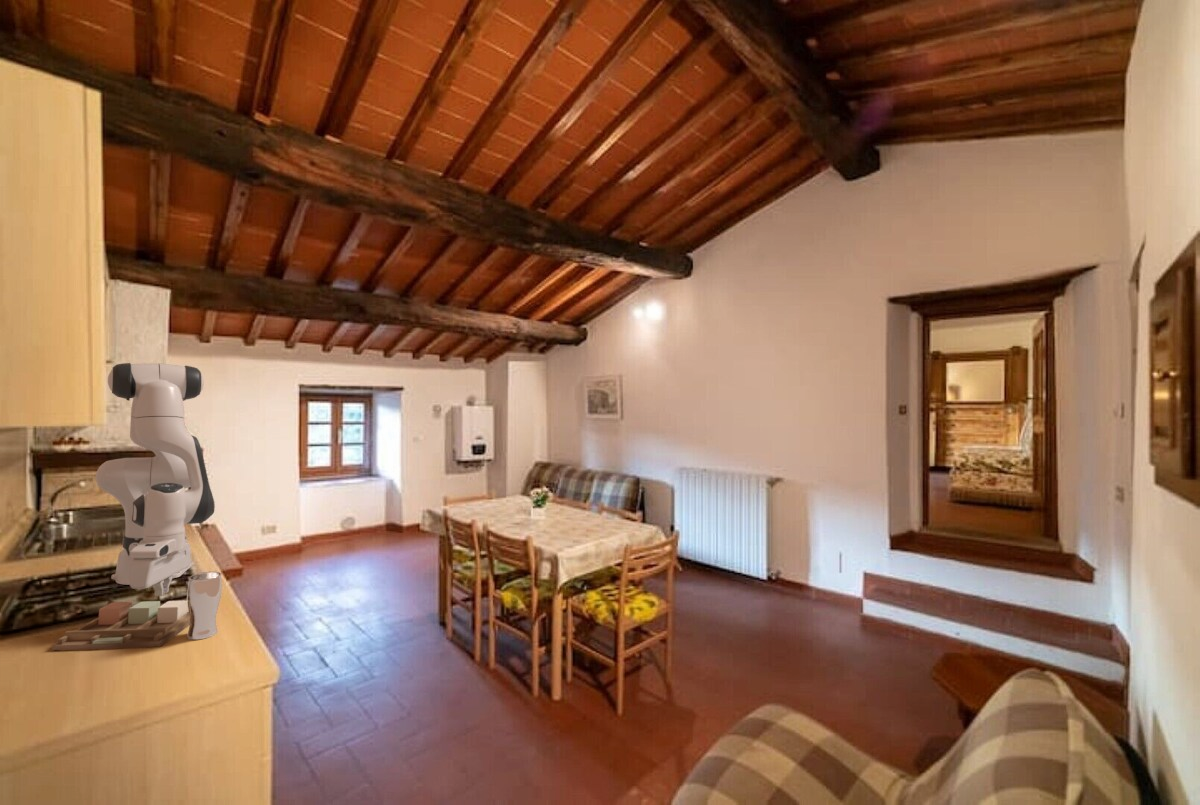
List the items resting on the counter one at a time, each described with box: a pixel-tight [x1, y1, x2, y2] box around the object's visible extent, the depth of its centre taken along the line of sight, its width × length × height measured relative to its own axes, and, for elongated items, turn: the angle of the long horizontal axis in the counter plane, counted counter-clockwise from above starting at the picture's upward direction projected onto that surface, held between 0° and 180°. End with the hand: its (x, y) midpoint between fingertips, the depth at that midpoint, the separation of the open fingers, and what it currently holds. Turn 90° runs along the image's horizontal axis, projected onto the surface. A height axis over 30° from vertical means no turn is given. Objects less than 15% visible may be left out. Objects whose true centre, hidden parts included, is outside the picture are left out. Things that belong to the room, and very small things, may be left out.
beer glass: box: [186, 571, 223, 641], centre depth 131 cm, size 7×7×15 cm
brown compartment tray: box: [50, 611, 190, 652], centre depth 130 cm, size 18×22×3 cm
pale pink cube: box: [157, 600, 188, 623], centre depth 136 cm, size 4×4×4 cm
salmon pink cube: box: [98, 601, 133, 625], centre depth 133 cm, size 4×4×4 cm
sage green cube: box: [128, 600, 161, 624], centre depth 134 cm, size 4×4×4 cm
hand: (161, 594), depth 141 cm, fingers closed
